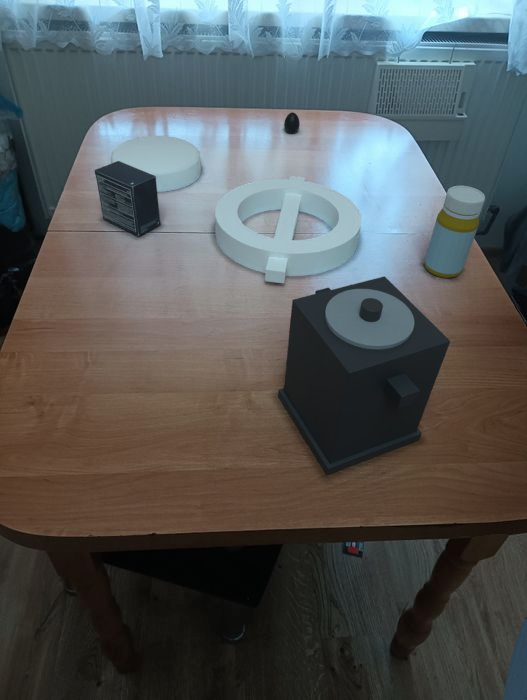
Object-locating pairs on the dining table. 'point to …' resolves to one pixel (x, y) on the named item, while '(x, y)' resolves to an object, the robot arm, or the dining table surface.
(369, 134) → the dining table surface
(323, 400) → the kettle
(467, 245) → the bottle
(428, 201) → the dining table surface
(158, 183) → the white round disc
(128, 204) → the small box
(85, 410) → the dining table surface
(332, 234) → the white circle with bar
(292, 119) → the egg
